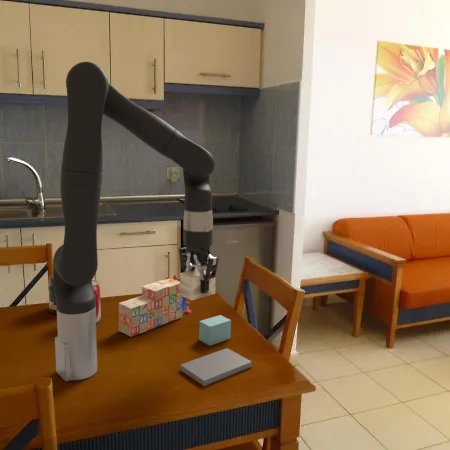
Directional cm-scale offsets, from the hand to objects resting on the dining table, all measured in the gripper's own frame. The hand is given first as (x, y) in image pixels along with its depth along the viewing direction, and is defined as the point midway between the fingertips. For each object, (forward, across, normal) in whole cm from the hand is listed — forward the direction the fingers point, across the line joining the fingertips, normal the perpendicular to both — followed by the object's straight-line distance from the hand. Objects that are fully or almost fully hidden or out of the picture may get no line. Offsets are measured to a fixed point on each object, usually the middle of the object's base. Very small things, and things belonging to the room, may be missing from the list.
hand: (197, 289), depth 126 cm
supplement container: (+20, -55, -13) cm, 60 cm away
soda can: (+20, -41, -11) cm, 47 cm away
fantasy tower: (+20, -34, +17) cm, 43 cm away
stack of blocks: (+20, -27, +3) cm, 34 cm away
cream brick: (+1, 0, 0) cm, 1 cm away
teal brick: (+20, -6, +12) cm, 24 cm away
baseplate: (+20, +7, +1) cm, 21 cm away
